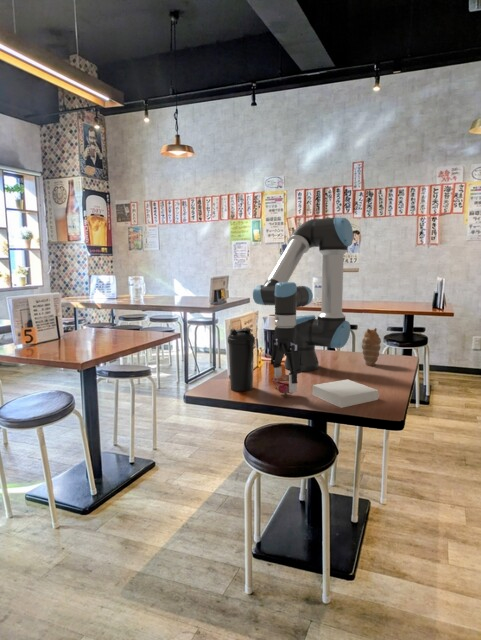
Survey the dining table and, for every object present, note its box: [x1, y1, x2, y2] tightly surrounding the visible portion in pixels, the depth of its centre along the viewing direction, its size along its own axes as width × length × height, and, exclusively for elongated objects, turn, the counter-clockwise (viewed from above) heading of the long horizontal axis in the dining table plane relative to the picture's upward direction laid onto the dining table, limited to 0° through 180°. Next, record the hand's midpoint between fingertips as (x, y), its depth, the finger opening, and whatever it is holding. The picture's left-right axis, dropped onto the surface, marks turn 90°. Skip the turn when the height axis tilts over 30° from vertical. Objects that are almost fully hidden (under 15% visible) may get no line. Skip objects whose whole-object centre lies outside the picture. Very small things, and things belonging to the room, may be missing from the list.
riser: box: [312, 378, 379, 409], centre depth 159 cm, size 16×16×4 cm
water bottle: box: [227, 327, 256, 392], centre depth 172 cm, size 10×10×23 cm
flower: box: [271, 374, 298, 398], centre depth 162 cm, size 10×9×8 cm
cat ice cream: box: [361, 327, 382, 367], centre depth 201 cm, size 9×8×18 cm
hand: (285, 388), depth 162 cm, fingers closed on flower, 9 cm apart
